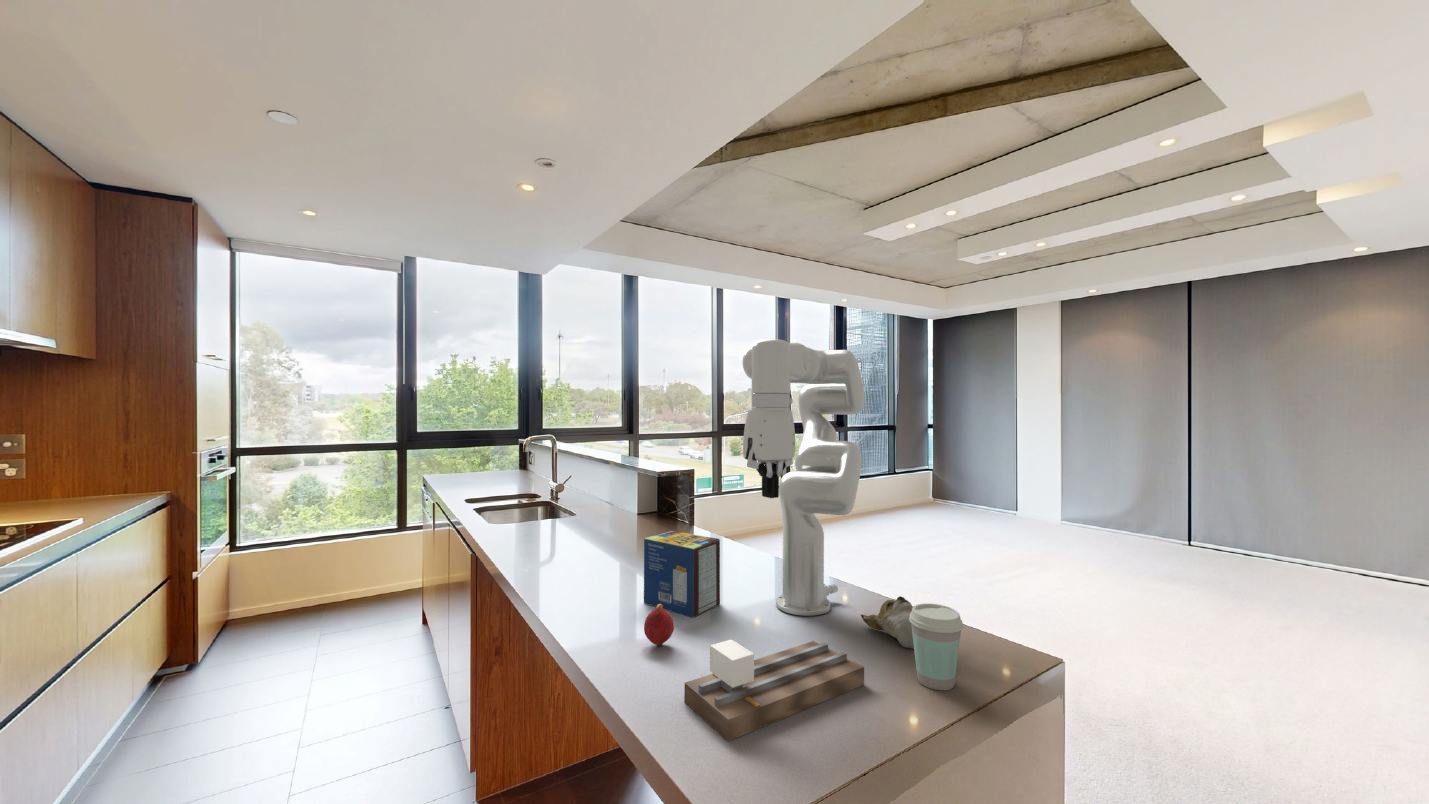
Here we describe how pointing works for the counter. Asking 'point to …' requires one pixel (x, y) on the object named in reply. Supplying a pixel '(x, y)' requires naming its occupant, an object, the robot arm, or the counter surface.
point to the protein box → (682, 572)
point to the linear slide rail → (774, 689)
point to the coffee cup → (936, 644)
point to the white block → (731, 664)
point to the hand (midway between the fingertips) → (770, 496)
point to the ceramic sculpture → (894, 620)
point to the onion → (658, 626)
